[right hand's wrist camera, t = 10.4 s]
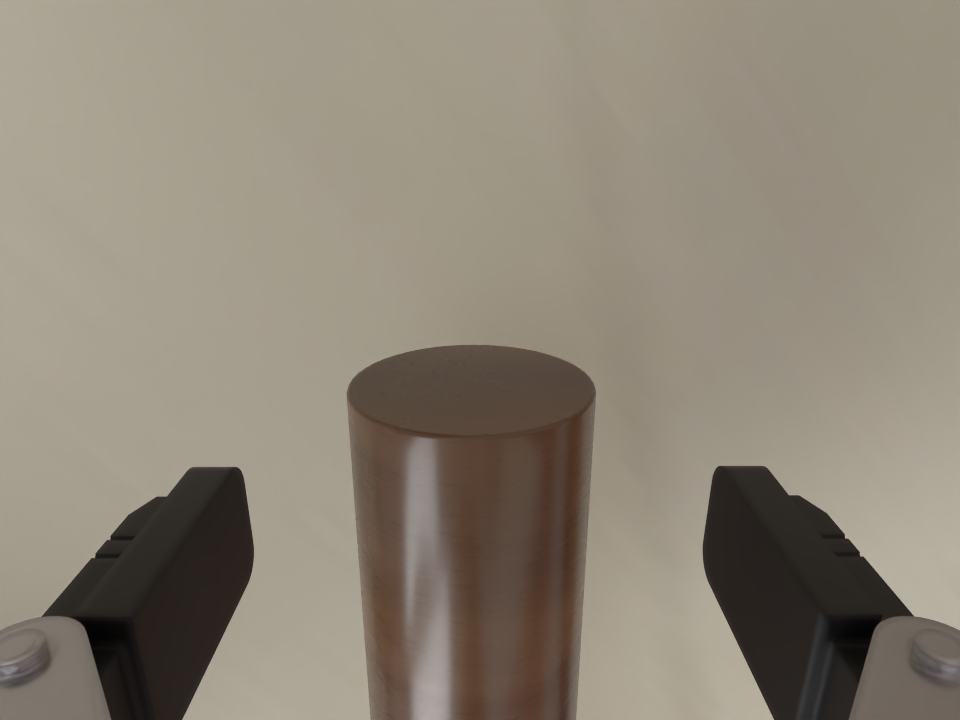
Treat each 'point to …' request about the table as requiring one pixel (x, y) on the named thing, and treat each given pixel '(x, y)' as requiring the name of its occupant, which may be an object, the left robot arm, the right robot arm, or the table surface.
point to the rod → (472, 531)
